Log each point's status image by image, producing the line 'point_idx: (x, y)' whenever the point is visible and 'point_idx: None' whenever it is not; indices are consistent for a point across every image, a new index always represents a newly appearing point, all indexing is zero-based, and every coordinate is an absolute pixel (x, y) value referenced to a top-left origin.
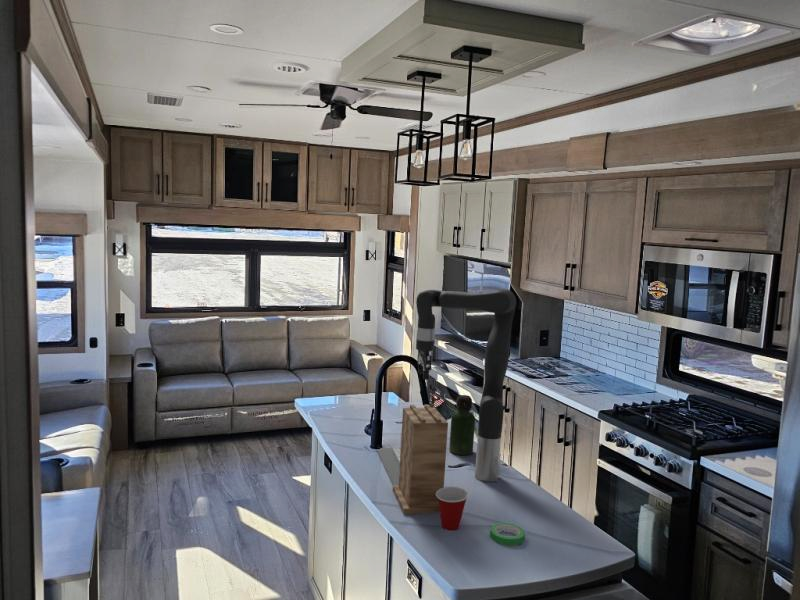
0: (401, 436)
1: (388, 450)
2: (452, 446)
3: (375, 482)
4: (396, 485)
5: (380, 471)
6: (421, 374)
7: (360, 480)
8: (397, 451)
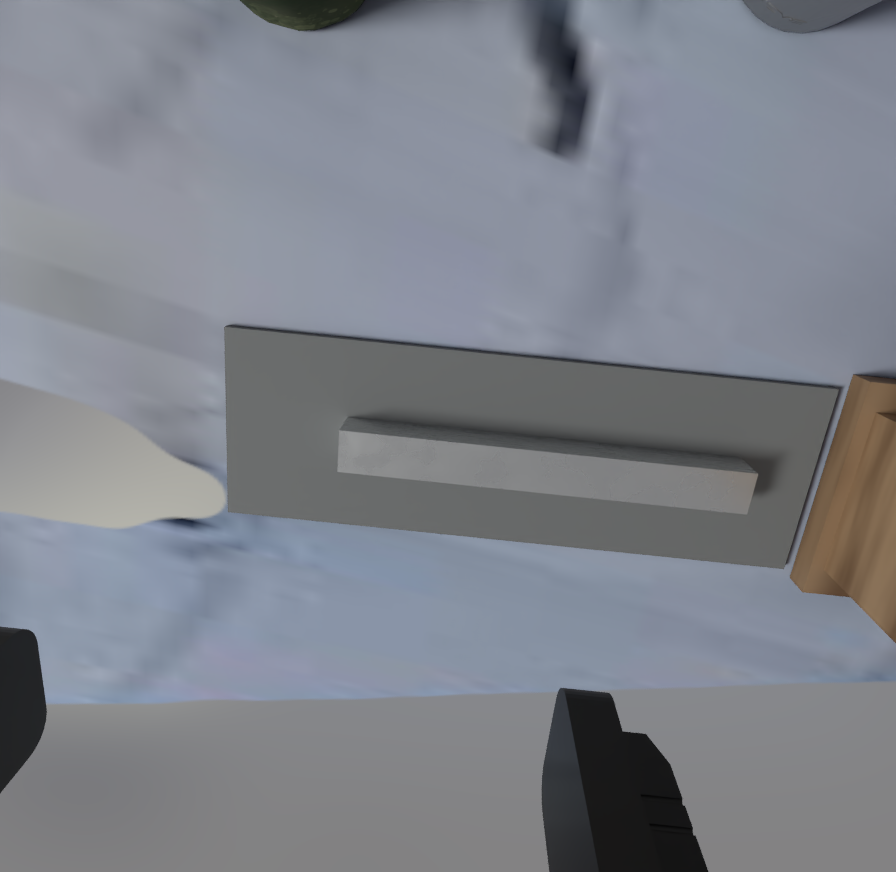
0: None
1: (268, 454)
2: (323, 10)
3: (675, 623)
4: (813, 577)
5: (548, 567)
6: (37, 675)
7: (633, 676)
8: (394, 458)
